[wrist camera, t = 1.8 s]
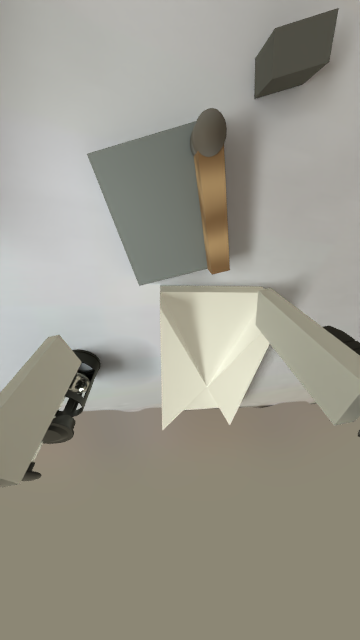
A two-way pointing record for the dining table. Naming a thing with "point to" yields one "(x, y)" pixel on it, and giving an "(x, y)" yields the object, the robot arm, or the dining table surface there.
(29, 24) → the dining table surface
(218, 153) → the hinged leg
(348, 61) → the dining table surface
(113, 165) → the stool seat
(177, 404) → the building model
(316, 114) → the dining table surface
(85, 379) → the french press
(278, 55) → the block
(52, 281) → the dining table surface
